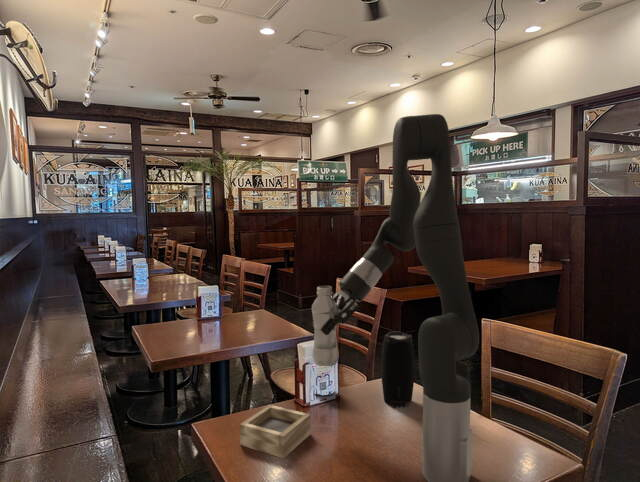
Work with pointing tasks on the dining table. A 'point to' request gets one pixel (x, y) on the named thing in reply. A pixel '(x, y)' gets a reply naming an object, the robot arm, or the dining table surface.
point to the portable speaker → (397, 368)
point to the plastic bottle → (322, 312)
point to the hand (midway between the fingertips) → (318, 329)
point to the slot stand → (275, 430)
